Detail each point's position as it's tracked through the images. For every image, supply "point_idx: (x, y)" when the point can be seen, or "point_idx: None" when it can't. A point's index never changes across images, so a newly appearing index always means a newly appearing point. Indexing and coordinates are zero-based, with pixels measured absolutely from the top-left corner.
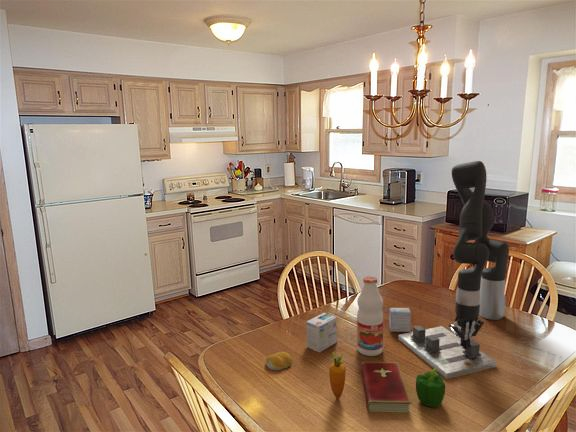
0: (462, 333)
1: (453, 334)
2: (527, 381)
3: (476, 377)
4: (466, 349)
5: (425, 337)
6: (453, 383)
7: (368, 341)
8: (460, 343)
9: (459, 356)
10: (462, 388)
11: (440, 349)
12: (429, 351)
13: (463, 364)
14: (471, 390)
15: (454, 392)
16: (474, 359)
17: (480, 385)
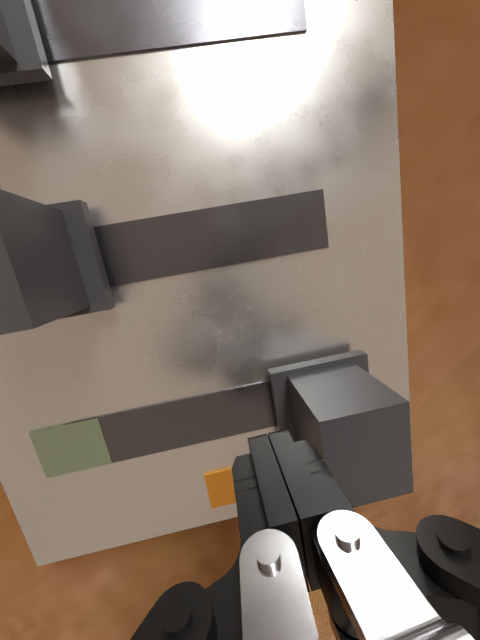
0: (289, 618)
1: (381, 27)
2: None
3: (232, 522)
4: (296, 402)
5: (27, 40)
6: (82, 561)
7: None
8: (233, 481)
9: (223, 398)
10: (110, 596)
11: (104, 309)
12: None
13: (198, 484)
14: (148, 609)
15: (54, 622)
16: None
17: (213, 578)
